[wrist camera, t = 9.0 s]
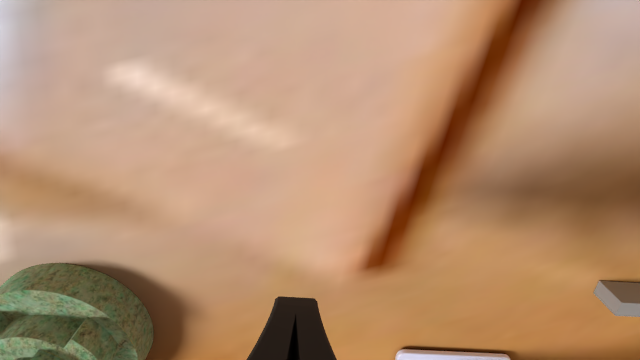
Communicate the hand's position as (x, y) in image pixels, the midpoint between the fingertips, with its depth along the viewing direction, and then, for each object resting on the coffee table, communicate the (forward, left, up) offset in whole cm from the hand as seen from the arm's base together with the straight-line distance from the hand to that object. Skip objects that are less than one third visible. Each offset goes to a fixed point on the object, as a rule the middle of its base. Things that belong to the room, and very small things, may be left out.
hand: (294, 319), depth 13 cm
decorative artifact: (-11, +14, -10) cm, 20 cm away
